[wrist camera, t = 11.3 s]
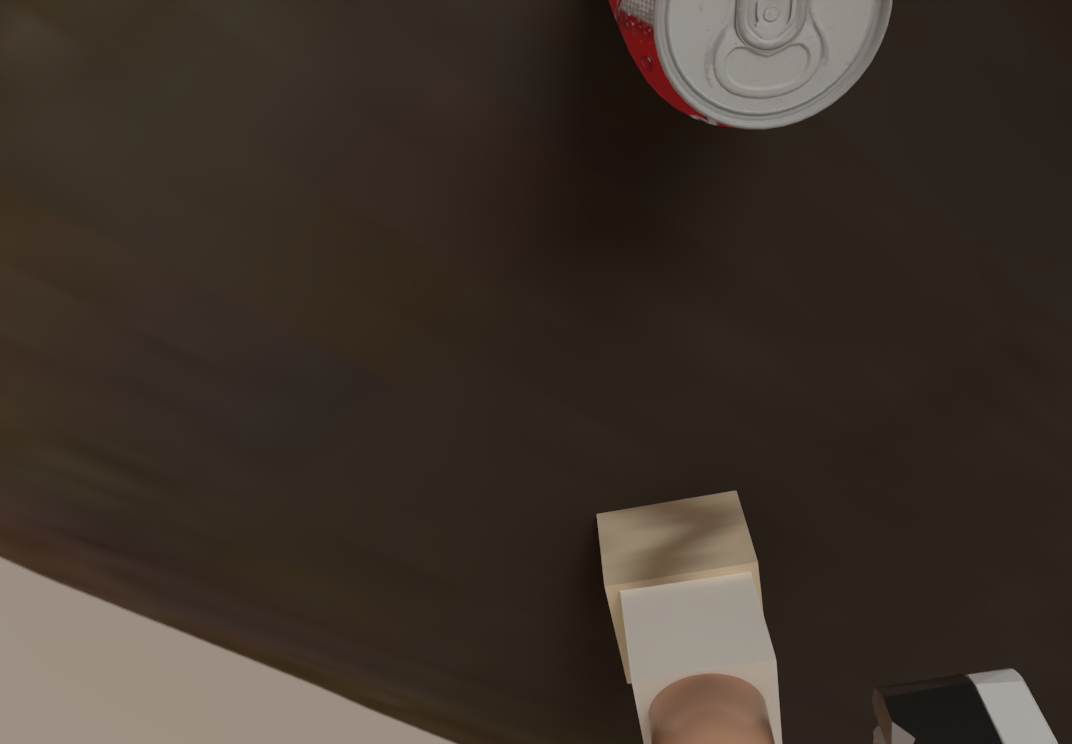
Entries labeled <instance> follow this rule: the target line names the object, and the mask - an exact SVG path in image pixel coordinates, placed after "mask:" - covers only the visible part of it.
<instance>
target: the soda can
mask: <svg viewBox="0 0 1072 744" xmlns="http://www.w3.org/2000/svg"><path fill="white" fill-rule="evenodd" d="M609 3H610V6H611V9H612V11H613V14H614V17H615V19H616V22H617V24H618V27H619V29H620V31H621V34H622V36H623V39H624V41H625V43H626V46H627V48H628V51H629V52H630V54H631V56H632V58H633V59H634V61H635V63H636V65H637V66H638V68H639V70H640V71H641V73H642V74H643V76H644V78H645V79H646V81H647V82H648V83H649V84H650V85H651V87H652V88H653V89H654V90H655V91H656V92H657V93H658V94H659V96H661V97H662V98H663V99H664V100H666V101H667V102H668V103H669V104H671V105H672V106H673V107H674V108H676V109H678V110H680V111H681V112H683V113H685V114H687V115H689V116H690V117H692V118H694V119H697V120H700V121H703V122H706V123H709V124H712V125H717V126H723V127H729V128H743V129H770V128H777V127H783V126H786V125H790V124H793V123H797V122H800V121H802V120H804V119H806V118H809V117H811V116H813V115H815V114H817V113H819V112H820V111H822V110H823V109H825V108H827V107H828V106H830V105H832V104H833V103H834V102H835V101H836V100H838V99H839V98H840V97H841V96H843V95H844V94H845V93H846V92H847V91H848V90H849V89H850V88H851V87H852V86H853V85H854V84H855V83H856V82H857V81H858V80H859V78H860V77H861V76H862V74H863V73H864V72H865V70H866V69H867V67H868V66H869V65H870V63H871V62H872V60H873V58H874V56H875V54H876V53H877V51H878V49H879V47H880V45H881V42H882V40H883V37H884V35H885V32H886V29H887V27H888V22H889V18H890V13H891V9H892V0H609Z"/></svg>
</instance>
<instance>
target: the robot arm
mask: <svg viewBox="0 0 1072 744" xmlns="http://www.w3.org/2000/svg"><path fill="white" fill-rule="evenodd" d="M873 709H874V712H875V715H876V718H877V720H878V723H879V726H878V727H877V728H876V729H875V730H874V731H873V742H874V744H1058V742H1057V740H1056V739H1055V737H1054V735H1053V733H1052V731H1051V729H1050V728H1049V726H1048V724H1047V722H1046V720H1045V718H1044V716H1043V715H1042V713H1041V711H1040V709H1039V707H1038V705H1037V704H1036V702H1035V700H1034V698H1033V696H1032V694H1031V693H1030V691H1029V689H1028V687H1027V685H1026V683H1025V681H1024V680H1023V678H1022V676H1021V675H1020V674H1018V673H1017V672H1016V671H1015V670H1014V669H1011V668H1004V669H998V670H992V671H986V672H980V673H974V674H968V675H963V674H957V675H951V676H944V677H938V678H932V679H926V680H919V681H913V682H907V683H900V684H894V685H888V686H881V687H875V690H874V692H873Z"/></svg>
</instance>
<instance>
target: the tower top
mask: <svg viewBox="0 0 1072 744" xmlns="http://www.w3.org/2000/svg"><path fill="white" fill-rule="evenodd" d="M620 595H621V603H622V611H623V619H624V627H625V635H626V643H627V651H628V659H629V666H630V674H631V681H632V686H633V691H634V697H635V702H636V707H637V712H638V717H639V722H640V727H641V732H642V737H643V742H644V744H651V735H650V725H649V709H650V705H651V703H652V701H653V700H654V698H655V697H656V696H657V694H658V693H659V692H660V691H661V690H663V689H664V688H665V687H667V686H668V685H670V684H671V683H673V682H675V681H678V680H680V679H683V678H686V677H689V676H694V675H699V674H724V675H730V676H734V677H737V678H740V679H743V680H745V681H747V682H749V683H750V684H752V685H753V686H754V687H756V688H757V689H758V690H759V691H760V693H761V694H762V695H763V697H764V699H765V702H766V706H767V710H768V715H769V719H770V724H771V728H772V733H773V737H774V742H775V744H782V734H781V720H780V706H779V691H778V677H777V663H776V657H775V654H774V650H773V647H772V643H771V640H770V636H769V633H768V629H767V626H766V622H765V619H764V615H763V612H762V608H761V605H760V602H759V598H758V595H757V591H756V588H755V584H754V581H753V577H752V574H751V572H746V573H739V574H732V575H726V576H719V577H712V578H705V579H698V580H691V581H684V582H678V583H671V584H664V585H657V586H650V587H643V588H637V589H630V590H623V591H620Z"/></svg>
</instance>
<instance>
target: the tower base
mask: <svg viewBox="0 0 1072 744" xmlns="http://www.w3.org/2000/svg"><path fill="white" fill-rule="evenodd" d="M597 523H598V533H599V542H600V551H601V560H602V569H603V578H604V587H605V591H606V595H607V600H608V604H609V608H610V612H611V616H612V621H613V625H614V629H615V633H616V637H617V642H618V646H619V650H620V654H621V659H622V663H623V667H624V671H625V675H626V680H627V684H630V683H632V681H631V674H630V666H629V659H628V651H627V643H626V635H625V627H624V619H623V611H622V603H621V595H620V591H623V590H630V589H637V588H643V587H650V586H657V585H664V584H671V583H678V582H684V581H691V580H698V579H705V578H712V577H719V576H726V575H732V574H739V573H746V572H751V574H752V577H753V581H754V584H755V588H756V591H757V595H758V598H759V602H760V605H761V608H762V612H763V606H762V596H761V587H760V578H759V569H758V561H757V558H756V554H755V551H754V548H753V544H752V541H751V537H750V534H749V531H748V527H747V524H746V521H745V517H744V514H743V511H742V507H741V504H740V501H739V497H738V494H737V491H730V492H724V493H718V494H712V495H706V496H700V497H694V498H688V499H682V500H677V501H671V502H665V503H659V504H653V505H647V506H641V507H635V508H629V509H623V510H617V511H611V512H606V513H600V514H597Z"/></svg>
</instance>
